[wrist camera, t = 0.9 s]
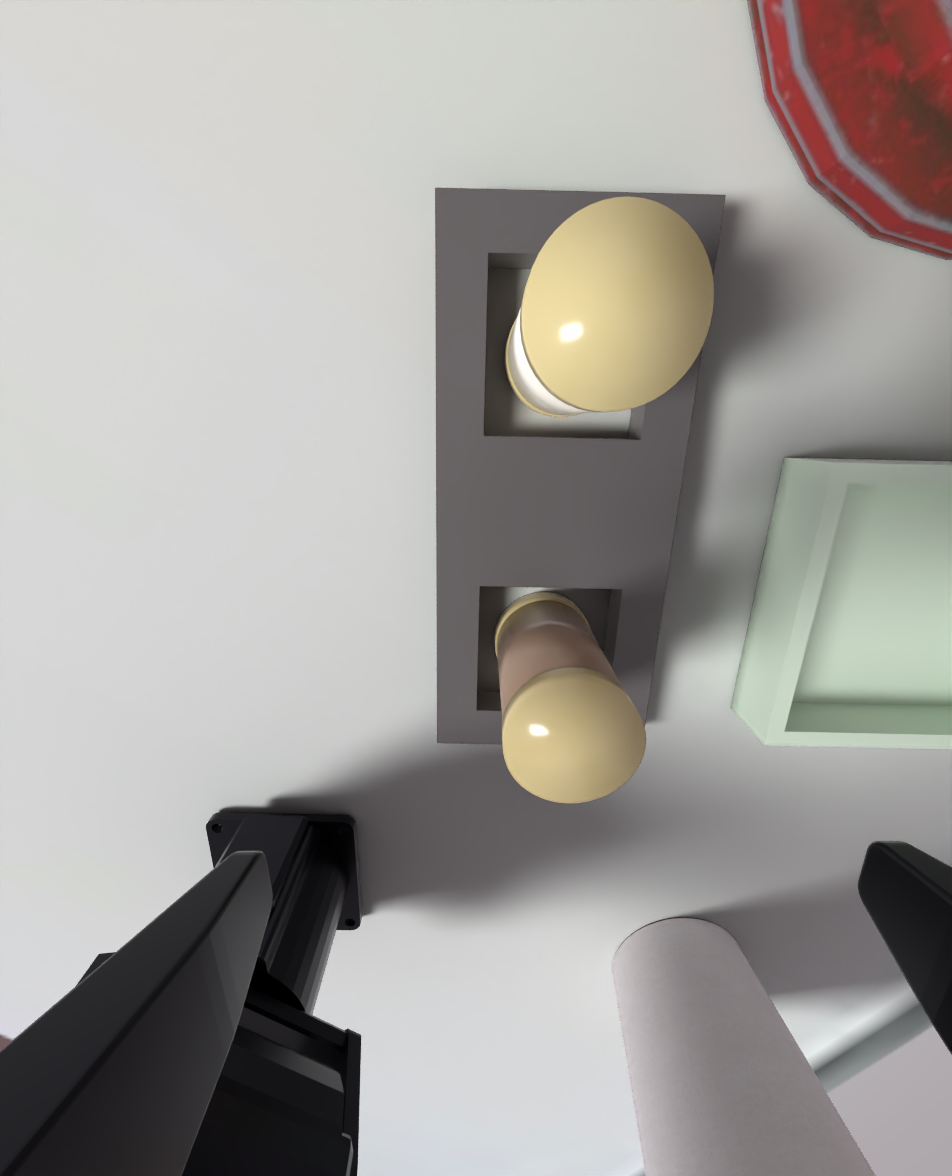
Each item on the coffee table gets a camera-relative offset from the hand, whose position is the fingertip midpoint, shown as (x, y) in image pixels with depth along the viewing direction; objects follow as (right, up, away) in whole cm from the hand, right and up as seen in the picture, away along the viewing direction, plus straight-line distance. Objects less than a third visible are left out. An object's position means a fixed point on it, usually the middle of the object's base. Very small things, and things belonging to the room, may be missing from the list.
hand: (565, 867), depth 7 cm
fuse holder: (+1, +7, +10) cm, 13 cm away
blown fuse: (+1, +2, +12) cm, 12 cm away
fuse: (+2, +12, +9) cm, 15 cm away
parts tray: (+14, +4, +11) cm, 19 cm away
